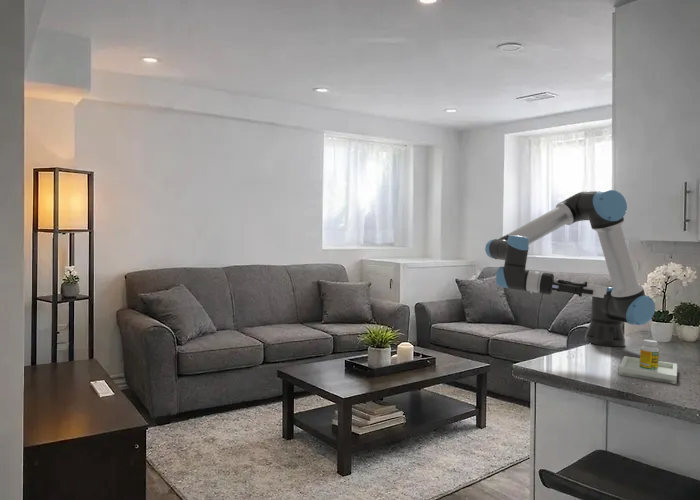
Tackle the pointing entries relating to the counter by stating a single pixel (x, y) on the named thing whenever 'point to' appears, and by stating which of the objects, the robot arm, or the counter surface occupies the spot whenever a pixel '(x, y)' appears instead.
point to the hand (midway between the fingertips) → (605, 292)
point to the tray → (663, 374)
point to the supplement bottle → (649, 356)
